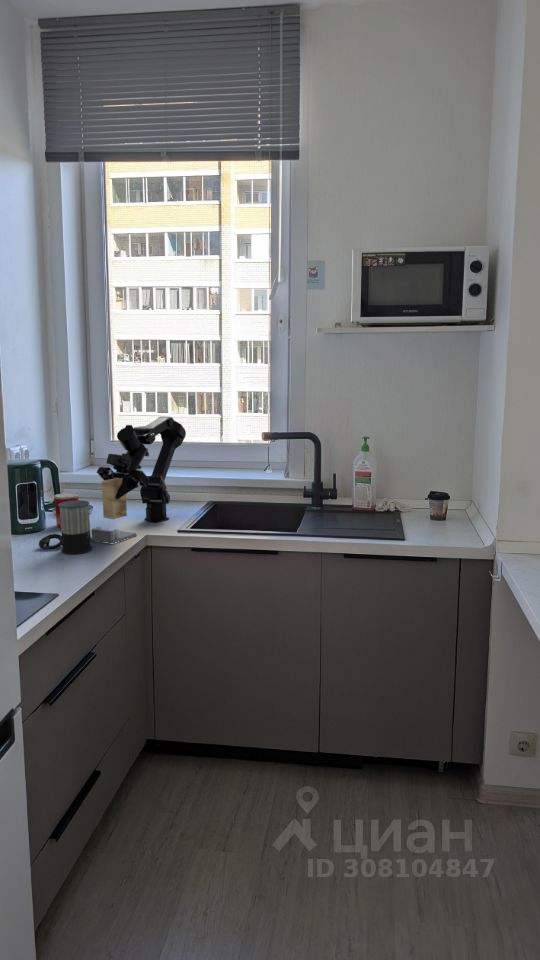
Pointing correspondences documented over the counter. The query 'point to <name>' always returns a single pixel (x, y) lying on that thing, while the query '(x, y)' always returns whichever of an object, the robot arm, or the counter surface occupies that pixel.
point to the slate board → (110, 535)
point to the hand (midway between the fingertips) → (111, 497)
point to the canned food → (59, 499)
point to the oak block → (113, 499)
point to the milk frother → (72, 529)
